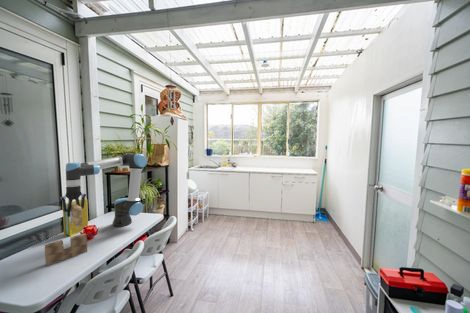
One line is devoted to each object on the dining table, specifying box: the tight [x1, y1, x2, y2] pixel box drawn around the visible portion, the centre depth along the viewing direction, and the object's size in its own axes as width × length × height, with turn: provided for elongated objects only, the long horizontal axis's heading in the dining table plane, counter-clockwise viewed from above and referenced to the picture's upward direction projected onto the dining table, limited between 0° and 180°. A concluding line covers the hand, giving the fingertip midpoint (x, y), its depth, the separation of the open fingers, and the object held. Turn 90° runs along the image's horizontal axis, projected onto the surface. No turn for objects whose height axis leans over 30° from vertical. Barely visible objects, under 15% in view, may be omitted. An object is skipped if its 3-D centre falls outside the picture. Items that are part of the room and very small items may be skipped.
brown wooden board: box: [44, 232, 88, 266], centre depth 124 cm, size 20×3×12 cm, turn 142°
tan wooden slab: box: [70, 204, 82, 227], centre depth 128 cm, size 3×14×12 cm, turn 53°
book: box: [61, 198, 89, 237], centre depth 161 cm, size 17×7×25 cm, turn 168°
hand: (74, 220), depth 131 cm, fingers closed on tan wooden slab, 3 cm apart
